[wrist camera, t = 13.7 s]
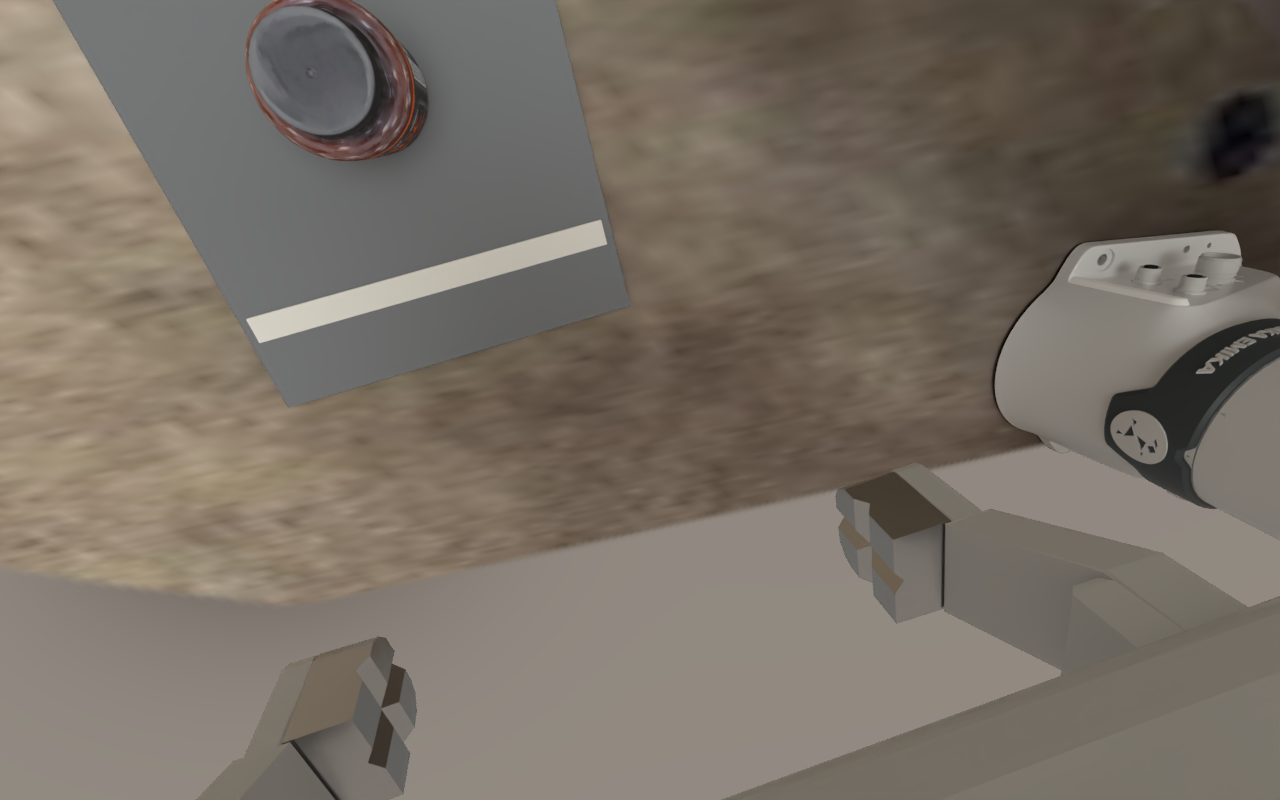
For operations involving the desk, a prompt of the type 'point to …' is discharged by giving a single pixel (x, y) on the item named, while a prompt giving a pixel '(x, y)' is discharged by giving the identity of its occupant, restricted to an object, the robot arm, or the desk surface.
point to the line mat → (372, 187)
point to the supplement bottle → (335, 79)
